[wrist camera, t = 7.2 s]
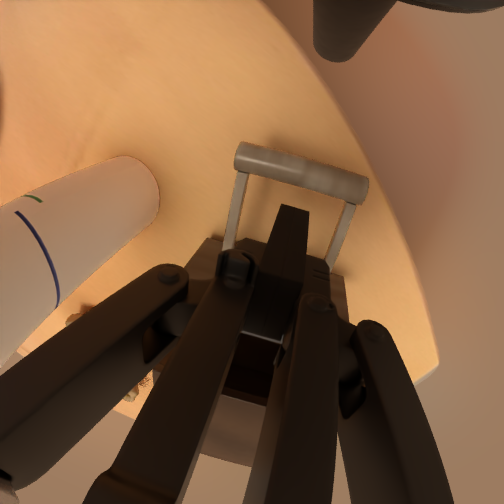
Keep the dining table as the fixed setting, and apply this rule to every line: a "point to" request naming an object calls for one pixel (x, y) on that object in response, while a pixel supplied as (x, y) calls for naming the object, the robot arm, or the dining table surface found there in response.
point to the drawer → (205, 258)
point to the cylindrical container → (66, 239)
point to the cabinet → (231, 424)
